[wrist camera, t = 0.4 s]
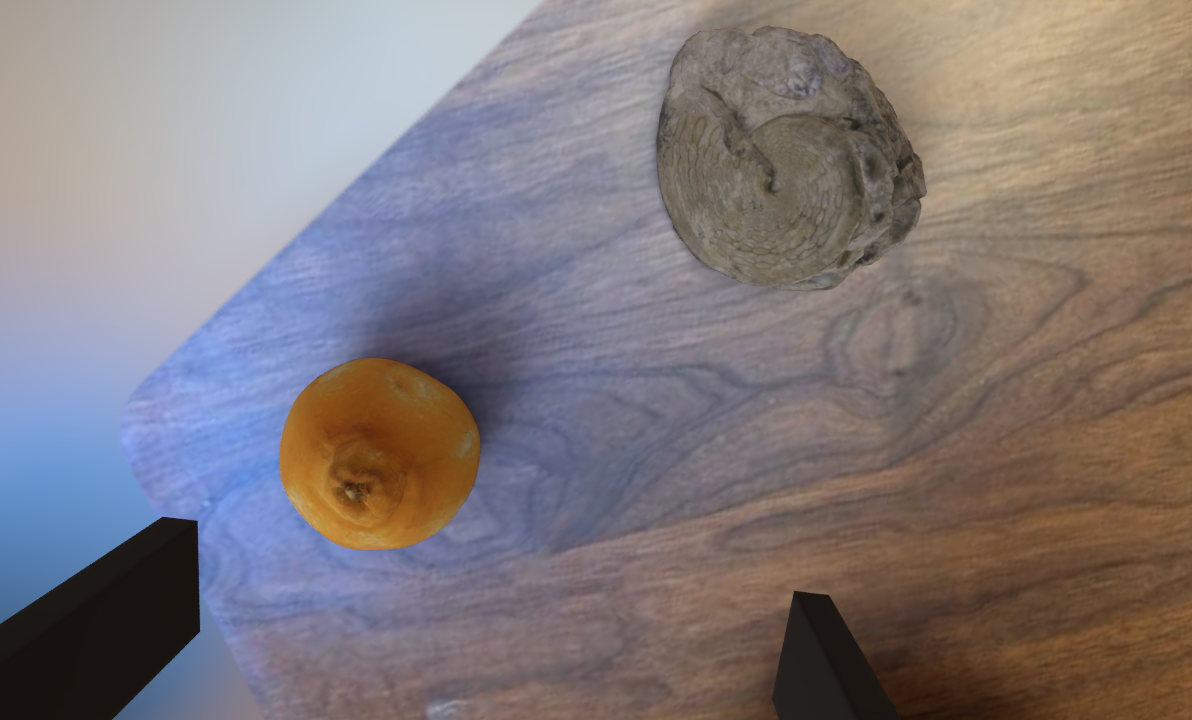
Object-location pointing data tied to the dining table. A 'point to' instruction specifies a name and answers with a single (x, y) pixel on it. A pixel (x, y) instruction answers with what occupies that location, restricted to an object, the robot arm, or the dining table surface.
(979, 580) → the dining table surface
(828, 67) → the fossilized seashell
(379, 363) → the fruit
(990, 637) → the dining table surface
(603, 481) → the dining table surface
